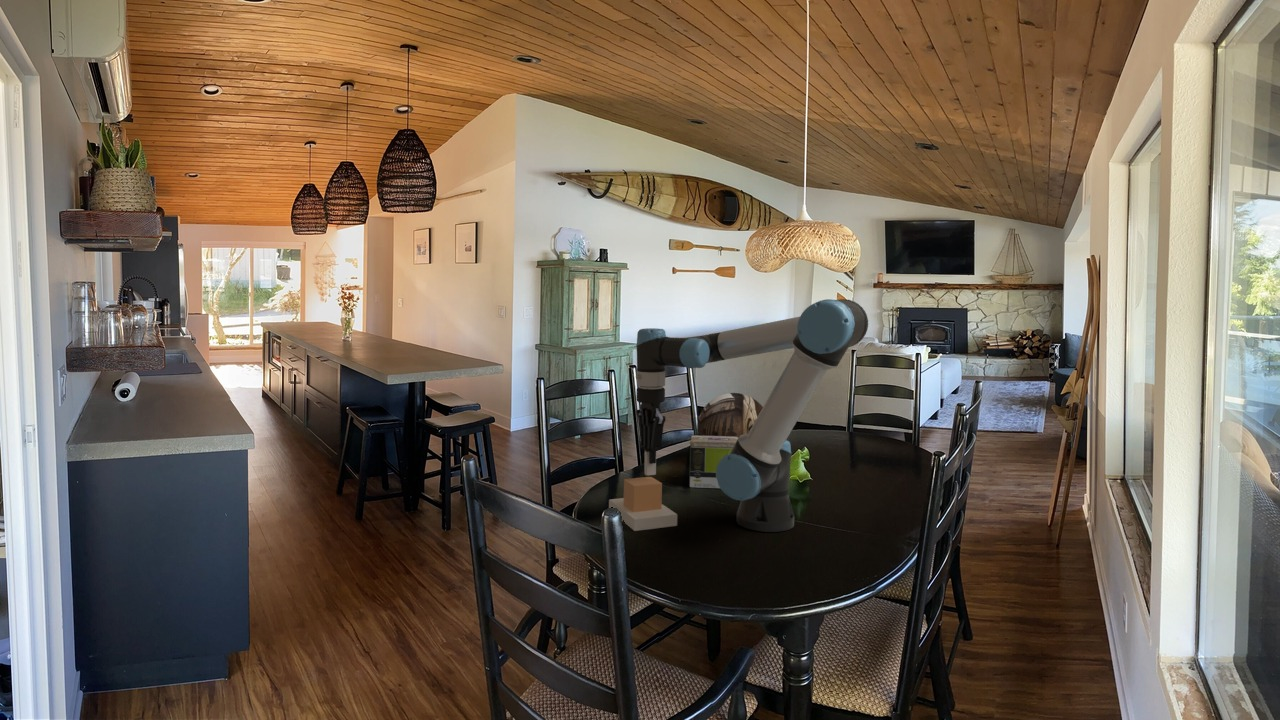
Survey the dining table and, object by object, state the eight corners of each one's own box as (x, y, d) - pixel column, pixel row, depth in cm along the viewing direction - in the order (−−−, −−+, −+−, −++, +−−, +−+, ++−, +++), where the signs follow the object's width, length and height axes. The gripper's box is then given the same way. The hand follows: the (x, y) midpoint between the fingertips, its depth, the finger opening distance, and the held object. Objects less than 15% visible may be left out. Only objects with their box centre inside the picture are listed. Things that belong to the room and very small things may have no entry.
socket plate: (677, 525, 199) (677, 514, 199) (634, 530, 194) (634, 519, 194) (648, 505, 215) (648, 495, 215) (608, 510, 210) (609, 499, 210)
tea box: (737, 481, 243) (739, 435, 241) (738, 490, 233) (740, 442, 231) (689, 479, 244) (691, 433, 242) (688, 488, 234) (690, 440, 232)
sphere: (774, 476, 250) (777, 400, 247) (698, 473, 251) (700, 398, 248) (763, 457, 275) (766, 388, 272) (694, 455, 275) (696, 386, 273)
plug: (661, 520, 203) (662, 483, 202) (633, 523, 200) (634, 486, 199) (650, 512, 209) (651, 476, 208) (623, 515, 206) (623, 479, 205)
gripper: (627, 384, 207) (627, 470, 209) (648, 391, 195) (648, 481, 197) (652, 383, 210) (651, 467, 212) (674, 389, 198) (674, 478, 200)
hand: (650, 474), depth 205 cm, fingers closed
